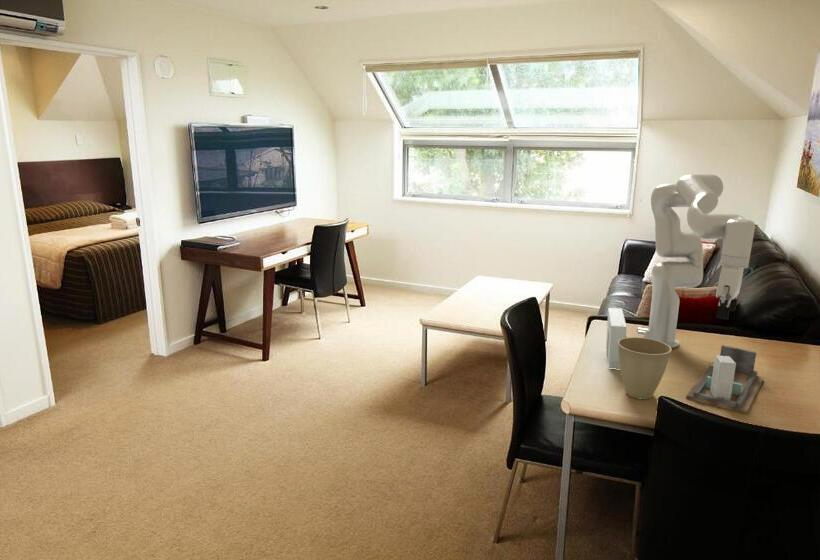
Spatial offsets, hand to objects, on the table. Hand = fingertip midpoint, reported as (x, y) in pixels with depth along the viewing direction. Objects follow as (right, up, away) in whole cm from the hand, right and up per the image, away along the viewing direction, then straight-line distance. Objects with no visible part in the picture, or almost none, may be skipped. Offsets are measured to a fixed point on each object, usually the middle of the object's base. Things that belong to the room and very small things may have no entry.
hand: (725, 314), depth 176 cm
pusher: (-1, -23, -1) cm, 23 cm away
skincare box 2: (-4, -24, -4) cm, 25 cm away
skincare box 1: (-25, -18, +28) cm, 41 cm away
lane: (+2, -23, +4) cm, 24 cm away
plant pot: (-27, -25, 0) cm, 36 cm away
